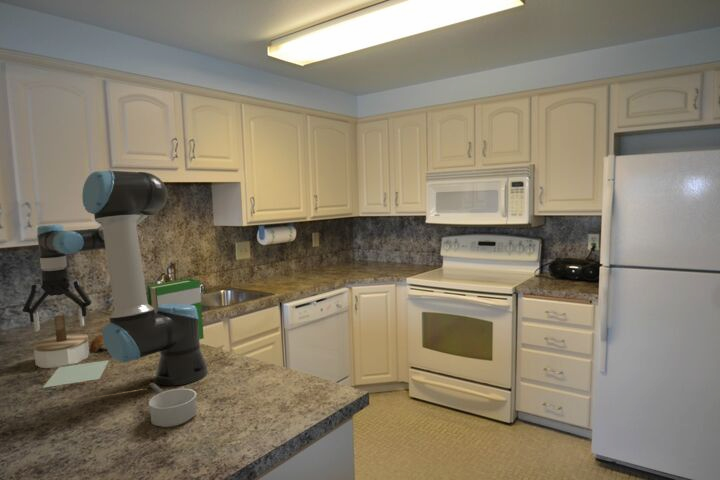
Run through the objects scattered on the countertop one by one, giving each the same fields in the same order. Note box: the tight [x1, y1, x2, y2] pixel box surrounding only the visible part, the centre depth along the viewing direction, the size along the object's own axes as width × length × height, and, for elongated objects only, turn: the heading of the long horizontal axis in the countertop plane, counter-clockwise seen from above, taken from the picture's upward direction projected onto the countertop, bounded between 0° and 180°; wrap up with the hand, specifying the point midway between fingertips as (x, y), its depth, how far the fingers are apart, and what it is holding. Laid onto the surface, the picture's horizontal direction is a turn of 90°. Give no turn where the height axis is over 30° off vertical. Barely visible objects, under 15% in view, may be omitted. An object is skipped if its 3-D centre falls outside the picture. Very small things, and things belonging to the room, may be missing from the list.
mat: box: [42, 359, 109, 388], centre depth 145 cm, size 18×15×1 cm
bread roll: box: [89, 333, 108, 353], centre depth 171 cm, size 10×10×8 cm
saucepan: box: [147, 382, 197, 428], centre depth 116 cm, size 12×20×6 cm, turn 45°
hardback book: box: [146, 278, 204, 340], centre depth 175 cm, size 18×7×24 cm, turn 141°
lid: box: [33, 314, 89, 352], centre depth 157 cm, size 16×16×10 cm
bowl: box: [33, 340, 90, 369], centre depth 158 cm, size 15×15×6 cm
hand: (60, 328), depth 157 cm, fingers open, 13 cm apart
